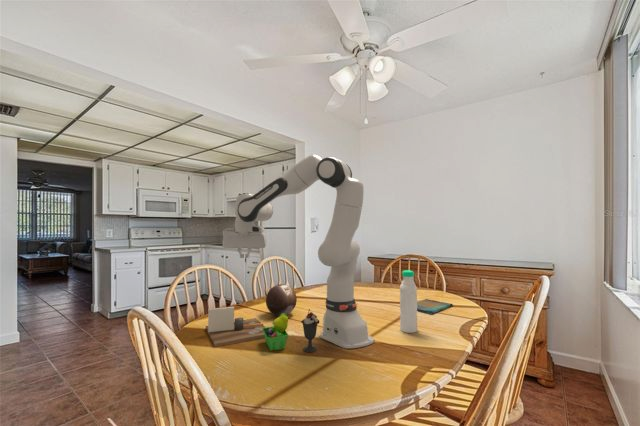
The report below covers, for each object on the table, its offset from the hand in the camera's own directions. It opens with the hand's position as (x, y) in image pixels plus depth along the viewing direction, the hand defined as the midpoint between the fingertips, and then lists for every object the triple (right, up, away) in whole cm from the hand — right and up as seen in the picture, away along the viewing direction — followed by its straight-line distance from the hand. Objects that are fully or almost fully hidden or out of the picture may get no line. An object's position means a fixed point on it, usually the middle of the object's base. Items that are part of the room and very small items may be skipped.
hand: (244, 257), depth 144 cm
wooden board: (+1, -29, -16) cm, 33 cm away
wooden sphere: (+16, -30, +7) cm, 34 cm away
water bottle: (+73, -29, -14) cm, 79 cm away
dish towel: (+93, -30, +21) cm, 100 cm away
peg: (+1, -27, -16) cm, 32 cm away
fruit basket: (+19, -29, -29) cm, 45 cm away
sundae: (+32, -28, -34) cm, 54 cm away
